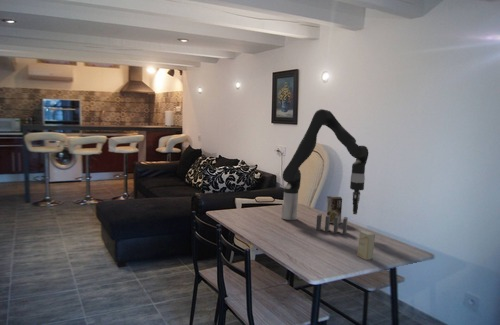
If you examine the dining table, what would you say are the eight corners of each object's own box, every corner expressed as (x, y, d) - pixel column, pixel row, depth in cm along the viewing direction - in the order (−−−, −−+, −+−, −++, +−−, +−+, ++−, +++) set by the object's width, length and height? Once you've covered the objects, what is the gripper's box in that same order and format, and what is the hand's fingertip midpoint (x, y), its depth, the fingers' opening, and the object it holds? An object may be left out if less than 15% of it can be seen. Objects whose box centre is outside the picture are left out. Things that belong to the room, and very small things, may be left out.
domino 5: (353, 214, 217) (354, 198, 216) (353, 212, 221) (355, 196, 221) (356, 214, 216) (357, 198, 215) (357, 212, 221) (358, 197, 220)
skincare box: (356, 255, 184) (358, 231, 183) (364, 254, 186) (366, 230, 185) (366, 260, 179) (368, 234, 177) (373, 259, 181) (375, 233, 179)
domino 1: (316, 230, 225) (317, 215, 224) (317, 228, 230) (318, 213, 229) (319, 231, 224) (320, 215, 223) (320, 228, 229) (321, 214, 228)
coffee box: (339, 221, 249) (341, 196, 248) (340, 223, 243) (342, 198, 241) (325, 220, 250) (326, 195, 249) (326, 222, 244) (327, 197, 242)
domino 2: (324, 231, 223) (325, 216, 222) (326, 229, 228) (327, 214, 227) (327, 232, 223) (328, 217, 222) (329, 230, 227) (330, 215, 226)
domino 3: (333, 233, 222) (334, 217, 221) (334, 230, 226) (335, 215, 225) (336, 233, 221) (337, 218, 220) (337, 231, 226) (338, 216, 225)
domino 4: (342, 234, 220) (343, 218, 219) (343, 232, 224) (344, 216, 224) (345, 234, 219) (346, 219, 218) (346, 232, 224) (347, 217, 223)
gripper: (351, 178, 225) (349, 207, 227) (349, 182, 212) (347, 212, 213) (365, 180, 222) (363, 209, 224) (363, 183, 209) (361, 214, 211)
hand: (355, 210), depth 219 cm, fingers closed on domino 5, 5 cm apart
